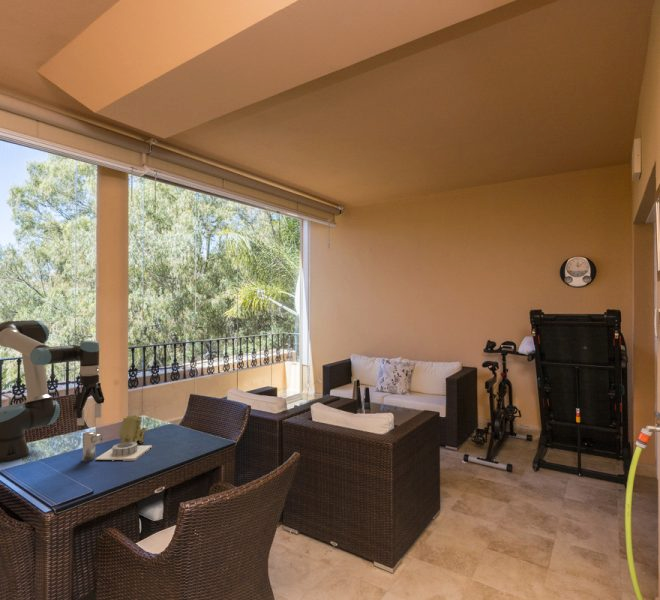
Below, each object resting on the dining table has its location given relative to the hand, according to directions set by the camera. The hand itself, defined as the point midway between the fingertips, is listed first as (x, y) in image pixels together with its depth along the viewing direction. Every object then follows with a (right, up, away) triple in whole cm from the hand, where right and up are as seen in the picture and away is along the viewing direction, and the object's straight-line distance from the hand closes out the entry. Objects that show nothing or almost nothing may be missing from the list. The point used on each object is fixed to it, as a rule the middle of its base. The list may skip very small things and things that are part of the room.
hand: (89, 421), depth 189 cm
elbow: (+1, -17, 0) cm, 17 cm away
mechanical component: (+10, -19, +22) cm, 31 cm away
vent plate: (+13, -18, +7) cm, 23 cm away
